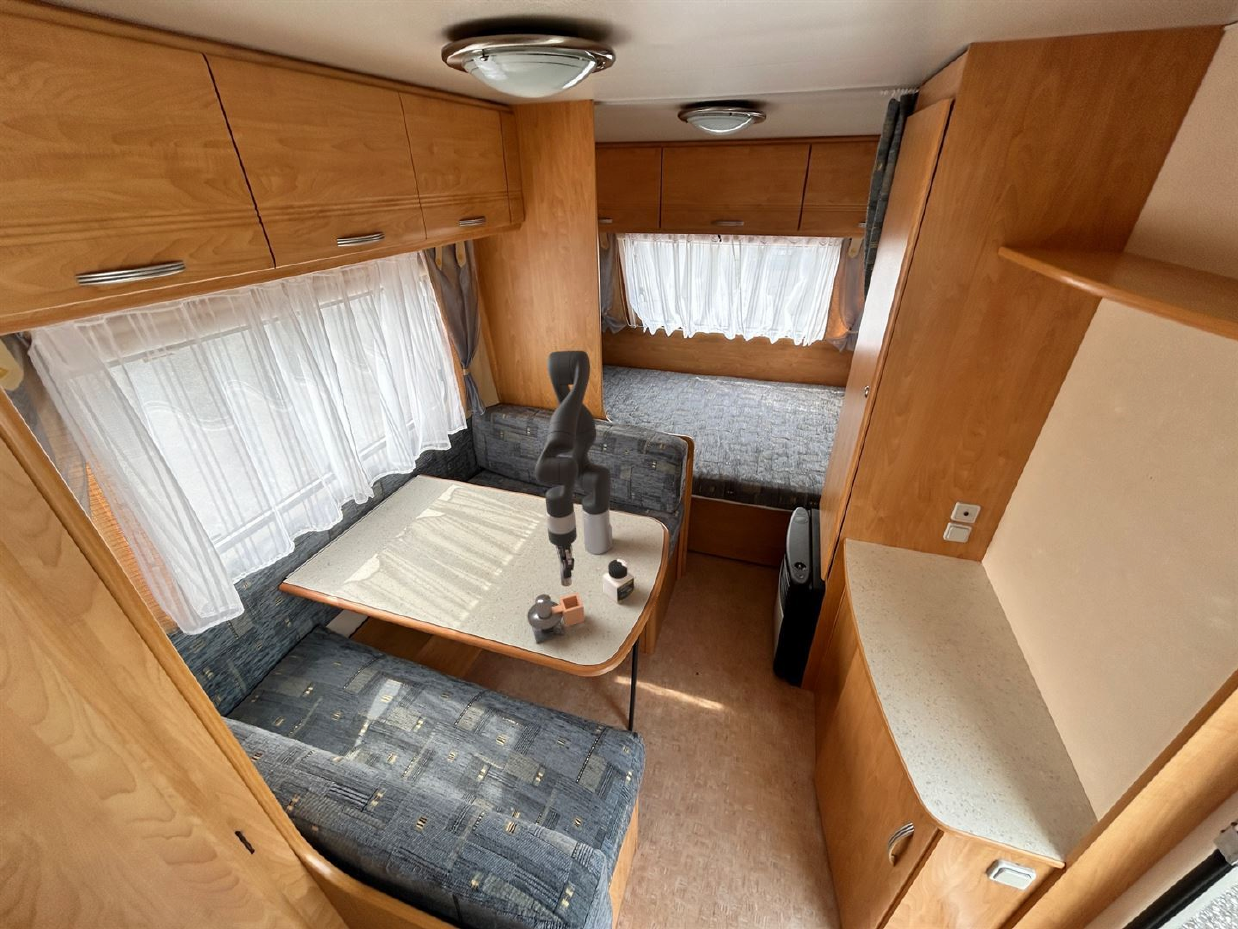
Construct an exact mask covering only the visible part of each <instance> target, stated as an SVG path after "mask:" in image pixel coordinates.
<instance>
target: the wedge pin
mask: <svg viewBox="0 0 1238 929" xmlns="http://www.w3.org/2000/svg"><path fill="white" fill-rule="evenodd" d="M557 557H559V554H557ZM558 564H559V574H560V584H561V585H562V586H563V587H569V586H572V584H573V580H572V577H571V578H567V579H564V577H563V569H562V563H561V562H560V559H559V558H558Z"/></svg>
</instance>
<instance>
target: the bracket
mask: <svg viewBox="0 0 1238 929" xmlns="http://www.w3.org/2000/svg"><path fill="white" fill-rule="evenodd" d="M558 602H559V604H558V606H554V607H552V615H553V614H557V613H560V612H562V621H563V624H564V626H565V627H568V626H569V627H570V626H573V625H575V624H579V623H582V622H585V611H584V610H585V609H584V605H583V602H582V599H581V598H580V595H579V593H578V592H577V593H573V594H569V595H565V596H562V597H559V598H558Z"/></svg>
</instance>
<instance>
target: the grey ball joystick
mask: <svg viewBox="0 0 1238 929" xmlns="http://www.w3.org/2000/svg"><path fill="white" fill-rule="evenodd" d="M558 605H559V604H558V602H555V601H552V598H551V596H550V595H548V594H540V595H538V596H536V598H535V600H534V604H533V605H532V606H531V607H530V608H529V610H528V611H527V622H528V624H529V625H530V626H531V628H532V632H533V636H534V640H535V642H536V644H539V643H542V642H545V641H549V640H552V639H556V638H559V637H562V636H564V631H563V628H562V626H561V623H560V622H561V620H563V618H562V612H560V613H557V614H553V615H552V607H554V606H558Z"/></svg>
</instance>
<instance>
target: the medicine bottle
mask: <svg viewBox="0 0 1238 929" xmlns="http://www.w3.org/2000/svg"><path fill="white" fill-rule="evenodd" d="M607 567H608V568H607V569H608V572H606V573H605V574H602V585H603V590H602V591H603V593H604V594H606V596H608V597H609V598H610V599H611V600H613V601H614V602H615V603H616V604H620V603H621V602H623V601H624V600H626V599H627V598H629V597H630V596H632V595H633V594H634V593H635V576H634V575H632V574H631V573H630V572H629V566H628V562H626V561H625V560H624V559H618V558H616V559H613V560H612V561H610V562H609V563H608V565H607Z"/></svg>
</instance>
